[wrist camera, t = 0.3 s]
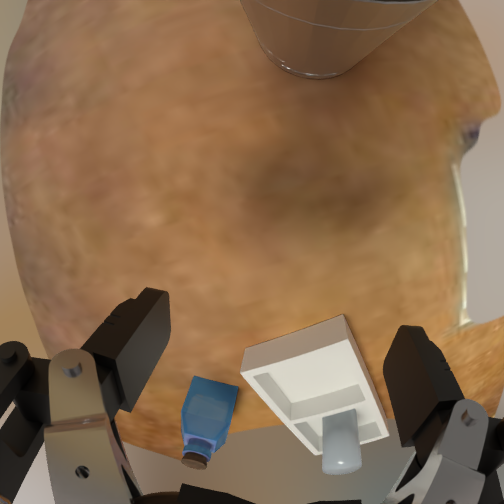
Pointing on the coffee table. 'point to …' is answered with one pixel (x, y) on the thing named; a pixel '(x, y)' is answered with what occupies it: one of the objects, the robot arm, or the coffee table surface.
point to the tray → (315, 381)
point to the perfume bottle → (205, 420)
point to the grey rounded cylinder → (341, 443)
